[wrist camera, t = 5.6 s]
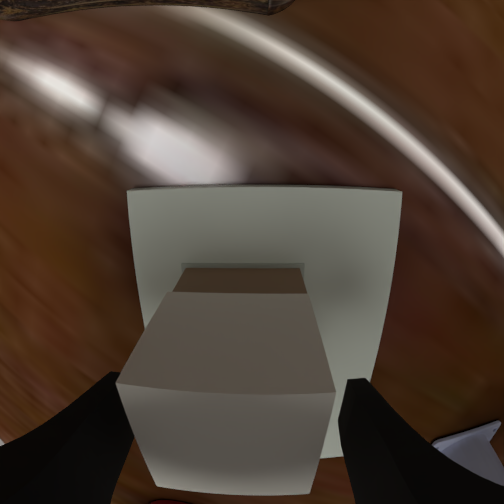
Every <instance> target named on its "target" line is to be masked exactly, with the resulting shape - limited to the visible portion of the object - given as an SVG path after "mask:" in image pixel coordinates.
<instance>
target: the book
mask: <svg viewBox="0 0 504 504" xmlns="http://www.w3.org/2000/svg"><path fill="white" fill-rule="evenodd" d="M294 1H295V0H0V19H2V20H8V21H19V20H24V19H28V18H33V17H39V16H44V15H50V14H56V13H62V12H68V11H75V10H83V9H91V8H101V7H113V6H131V5H182V6H200V7H212V8H222V9H231V10H239V11H246V12H253V13H259V14H265V15H272V14H275V13H278V12H280V11H282V10H284V9H285V8H287V7H288V6H290V5H291V4H292V3H293V2H294Z"/></svg>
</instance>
